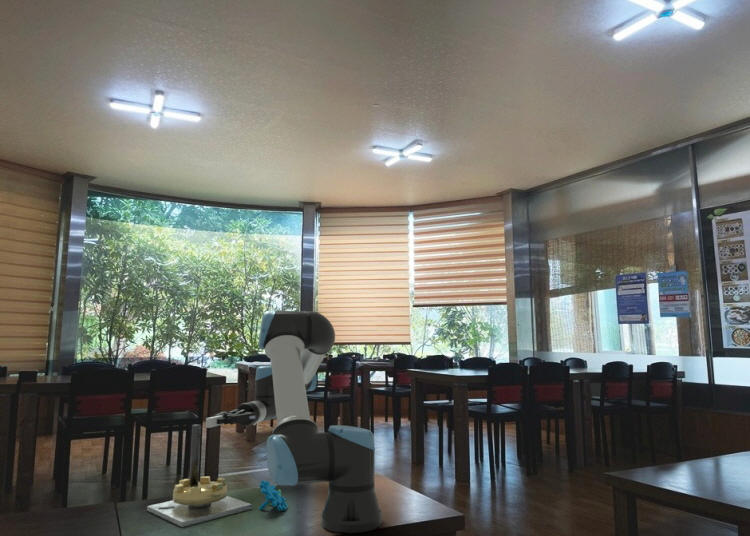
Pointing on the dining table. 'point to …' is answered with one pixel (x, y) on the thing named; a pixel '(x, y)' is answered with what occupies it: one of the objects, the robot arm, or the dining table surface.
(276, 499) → the gear
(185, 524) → the white square base plate
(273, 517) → the dining table surface
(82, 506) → the dining table surface
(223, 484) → the gold toothed rod mount
